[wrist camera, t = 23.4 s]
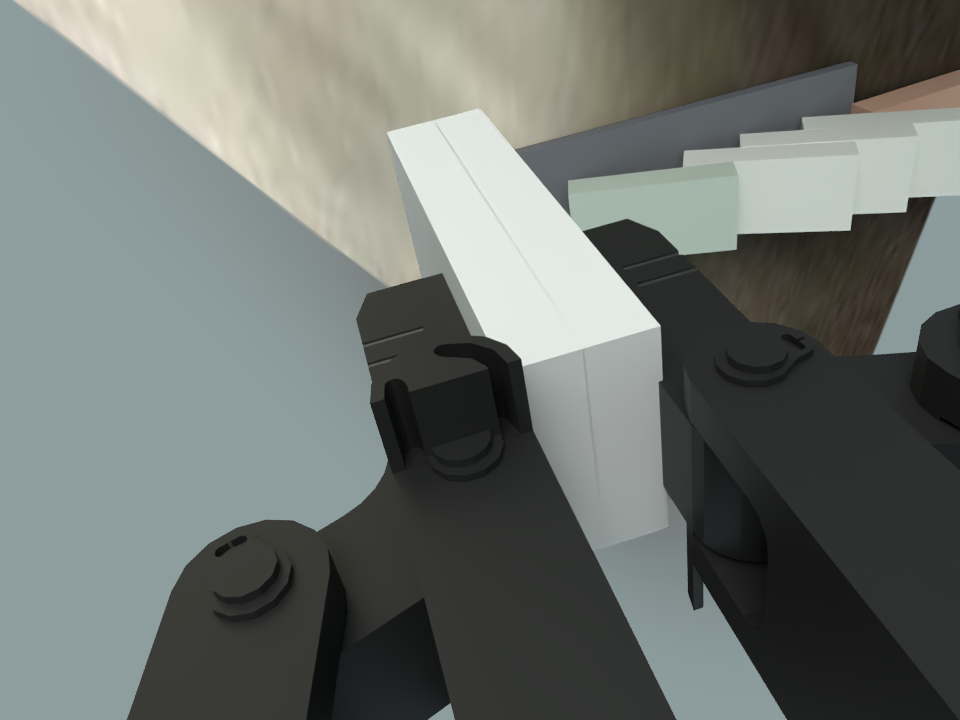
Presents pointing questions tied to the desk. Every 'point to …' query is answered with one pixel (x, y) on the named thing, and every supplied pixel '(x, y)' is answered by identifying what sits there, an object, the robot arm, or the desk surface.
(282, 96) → the desk surface
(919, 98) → the end domino
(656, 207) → the domino
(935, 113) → the domino
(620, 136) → the domino mat
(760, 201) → the domino
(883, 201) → the domino
